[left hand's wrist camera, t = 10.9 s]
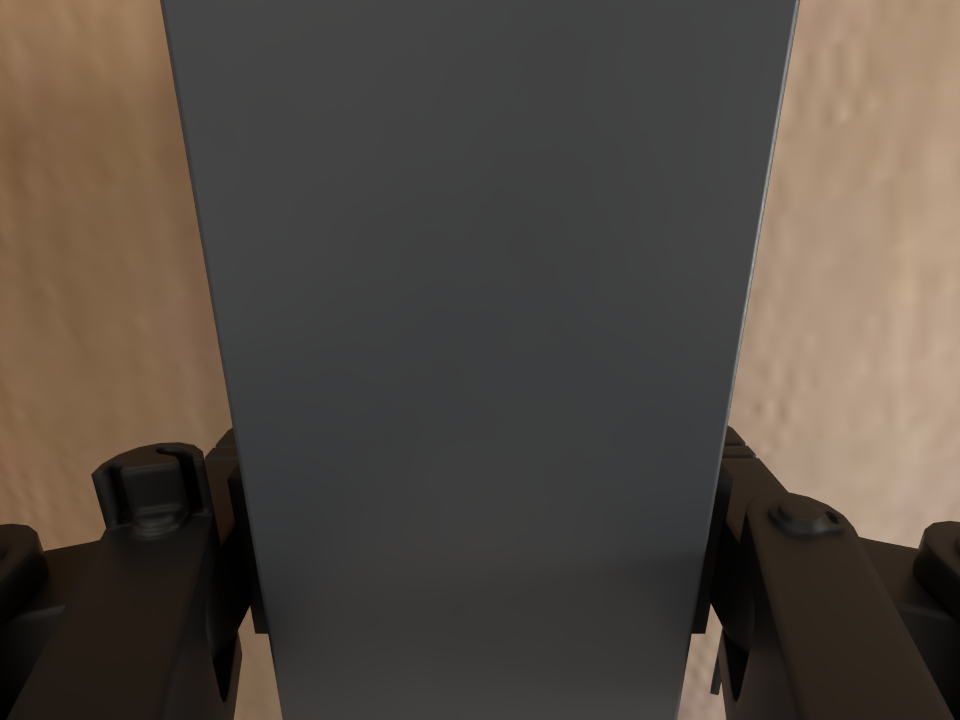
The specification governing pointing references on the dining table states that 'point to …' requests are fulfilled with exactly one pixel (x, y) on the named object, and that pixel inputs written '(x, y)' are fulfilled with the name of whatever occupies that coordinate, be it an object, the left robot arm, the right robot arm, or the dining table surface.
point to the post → (480, 331)
